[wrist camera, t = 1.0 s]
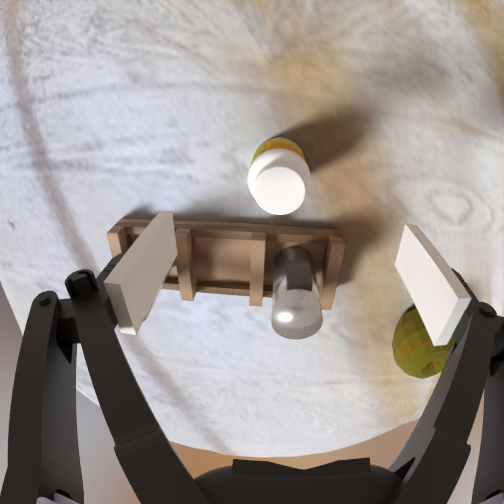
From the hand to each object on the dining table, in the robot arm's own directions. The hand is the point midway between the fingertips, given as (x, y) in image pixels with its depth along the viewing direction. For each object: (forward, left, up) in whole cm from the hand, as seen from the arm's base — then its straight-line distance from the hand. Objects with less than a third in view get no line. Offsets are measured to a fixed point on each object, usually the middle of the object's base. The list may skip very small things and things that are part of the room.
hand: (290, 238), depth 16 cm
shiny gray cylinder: (+12, +2, -16) cm, 20 cm away
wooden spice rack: (+12, -7, -17) cm, 22 cm away
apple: (+22, +22, -17) cm, 36 cm away
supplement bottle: (0, -1, -17) cm, 17 cm away
